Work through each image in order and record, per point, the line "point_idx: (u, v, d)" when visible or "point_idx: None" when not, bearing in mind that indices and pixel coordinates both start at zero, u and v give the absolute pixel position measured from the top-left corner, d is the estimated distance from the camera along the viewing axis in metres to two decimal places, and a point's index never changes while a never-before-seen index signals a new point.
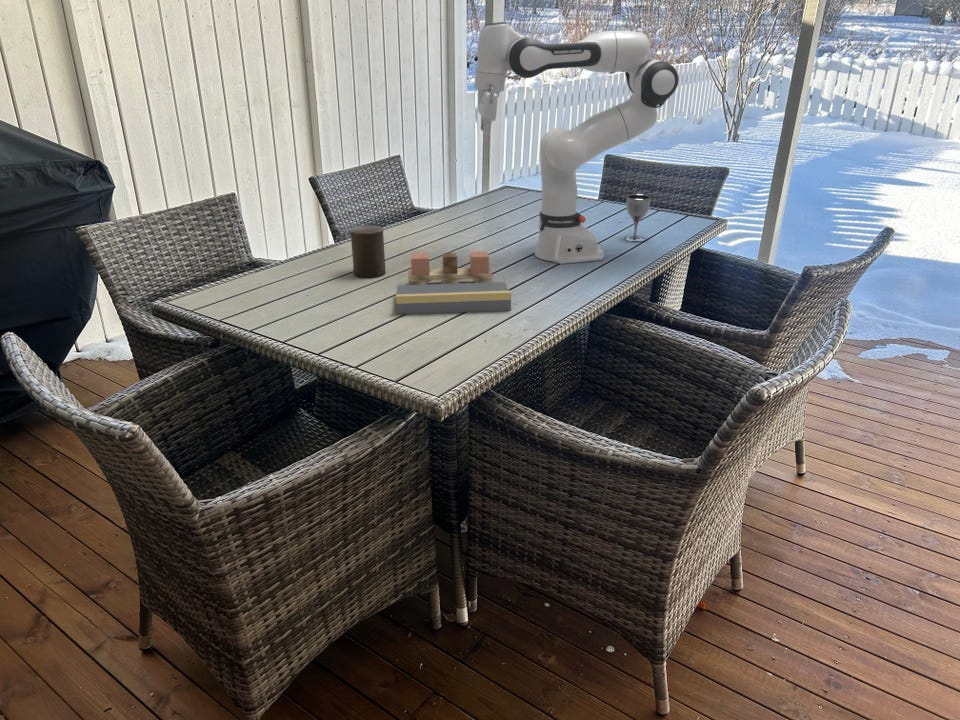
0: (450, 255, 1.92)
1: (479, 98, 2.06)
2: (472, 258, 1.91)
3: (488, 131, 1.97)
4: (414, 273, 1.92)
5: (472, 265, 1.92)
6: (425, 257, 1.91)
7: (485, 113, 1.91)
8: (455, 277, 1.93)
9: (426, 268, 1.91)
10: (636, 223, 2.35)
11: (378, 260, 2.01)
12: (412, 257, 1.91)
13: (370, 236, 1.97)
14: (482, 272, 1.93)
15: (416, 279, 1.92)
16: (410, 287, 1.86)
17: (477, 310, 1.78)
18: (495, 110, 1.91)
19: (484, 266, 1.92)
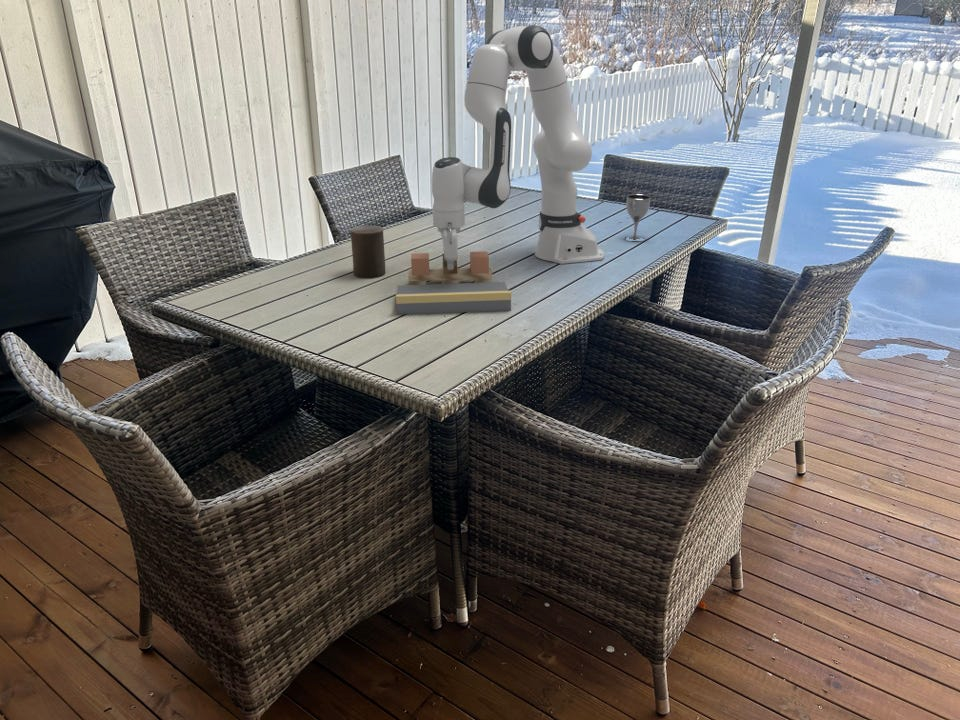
0: None
1: None
2: (472, 258, 1.91)
3: (451, 265, 1.91)
4: (414, 273, 1.92)
5: (472, 265, 1.92)
6: (425, 257, 1.91)
7: (446, 254, 1.82)
8: (455, 277, 1.93)
9: (426, 268, 1.91)
10: (636, 223, 2.35)
11: (378, 260, 2.01)
12: (412, 257, 1.91)
13: (370, 236, 1.97)
14: (482, 272, 1.93)
15: (416, 279, 1.92)
16: (410, 287, 1.86)
17: (477, 310, 1.78)
18: (456, 250, 1.82)
19: (484, 266, 1.92)
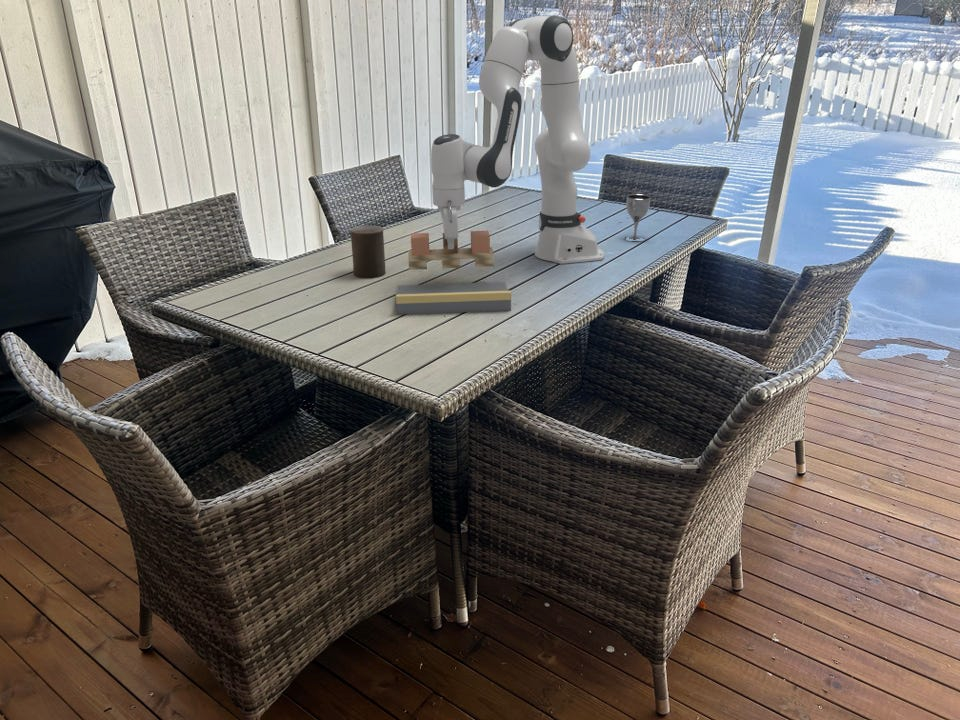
0: None
1: None
2: (473, 237, 1.89)
3: (452, 244, 1.88)
4: (414, 253, 1.89)
5: (473, 244, 1.89)
6: (425, 237, 1.88)
7: (446, 233, 1.80)
8: (456, 257, 1.90)
9: (426, 247, 1.89)
10: (636, 223, 2.35)
11: (378, 260, 2.01)
12: (412, 237, 1.88)
13: (370, 236, 1.97)
14: (483, 251, 1.91)
15: (416, 259, 1.90)
16: (410, 287, 1.86)
17: (477, 310, 1.78)
18: (456, 228, 1.80)
19: (485, 245, 1.90)
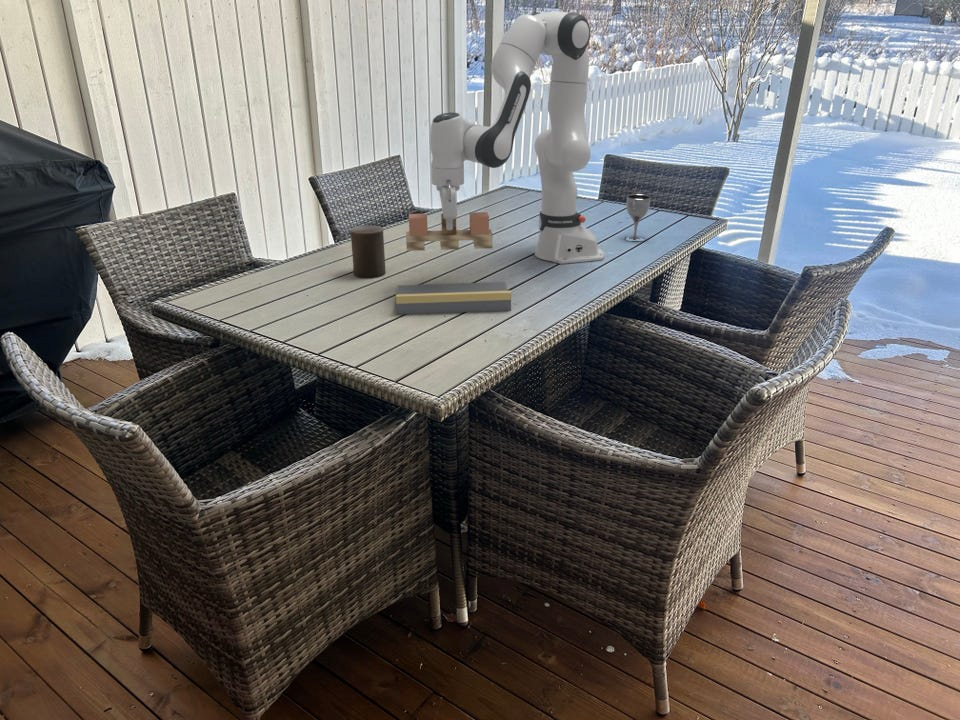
0: None
1: None
2: (472, 218, 1.86)
3: (450, 225, 1.85)
4: (412, 233, 1.86)
5: (472, 225, 1.87)
6: (423, 217, 1.85)
7: (444, 212, 1.77)
8: (454, 238, 1.88)
9: (424, 228, 1.86)
10: (636, 223, 2.35)
11: (378, 260, 2.01)
12: (410, 217, 1.85)
13: (370, 236, 1.97)
14: (482, 233, 1.88)
15: (414, 240, 1.87)
16: (410, 287, 1.86)
17: (477, 310, 1.78)
18: (455, 208, 1.77)
19: (484, 226, 1.87)
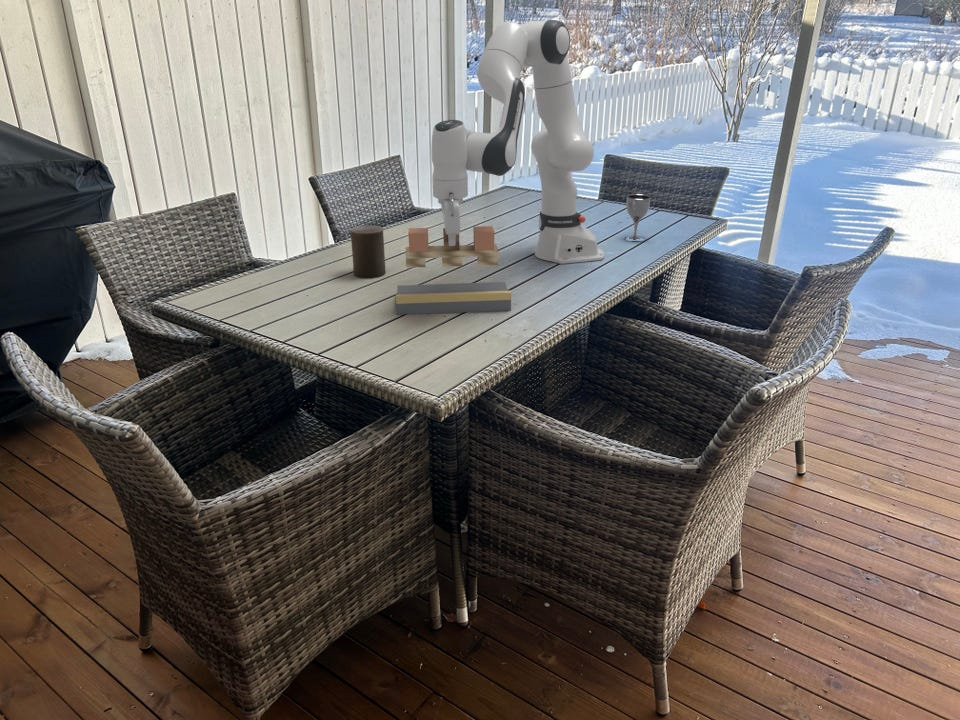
0: None
1: None
2: (476, 233, 1.73)
3: (453, 241, 1.73)
4: (412, 249, 1.74)
5: (476, 241, 1.74)
6: (424, 232, 1.73)
7: (447, 228, 1.64)
8: (457, 254, 1.75)
9: (425, 244, 1.73)
10: (636, 223, 2.35)
11: (378, 260, 2.01)
12: (410, 232, 1.73)
13: (370, 236, 1.97)
14: (487, 249, 1.75)
15: (414, 256, 1.74)
16: (410, 287, 1.86)
17: (477, 310, 1.78)
18: (458, 223, 1.64)
19: (489, 242, 1.75)
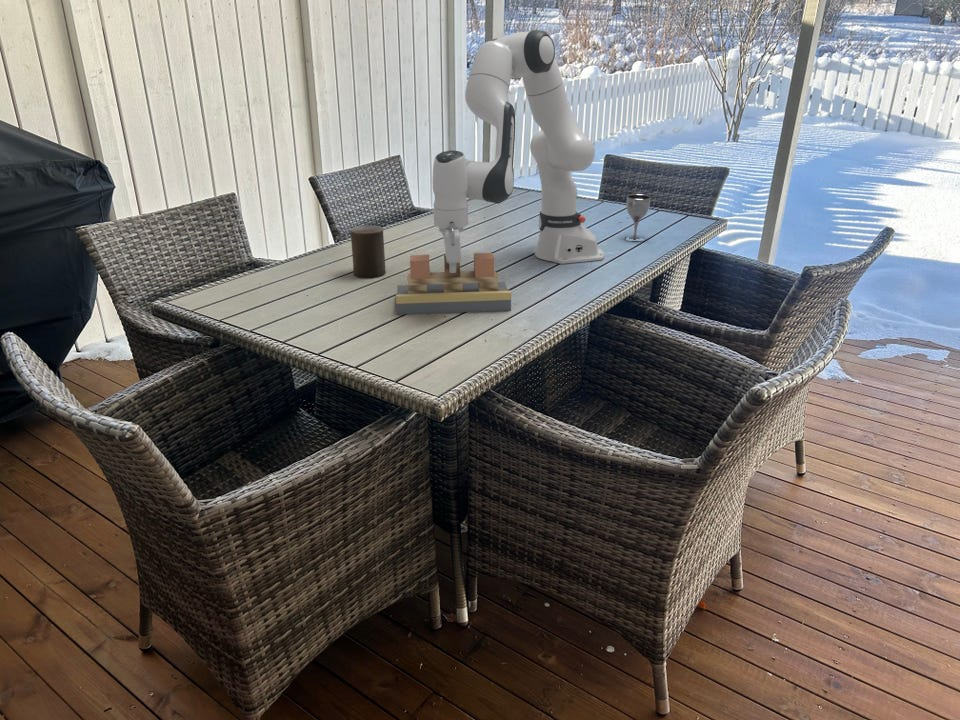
0: None
1: None
2: (476, 260, 1.76)
3: (454, 268, 1.76)
4: (413, 276, 1.77)
5: (476, 268, 1.77)
6: (425, 259, 1.76)
7: (448, 256, 1.68)
8: (458, 281, 1.78)
9: (426, 271, 1.77)
10: (636, 223, 2.35)
11: (378, 260, 2.01)
12: (411, 259, 1.76)
13: (370, 236, 1.97)
14: (487, 275, 1.79)
15: (415, 283, 1.77)
16: None
17: (477, 310, 1.78)
18: (459, 252, 1.67)
19: (489, 269, 1.78)
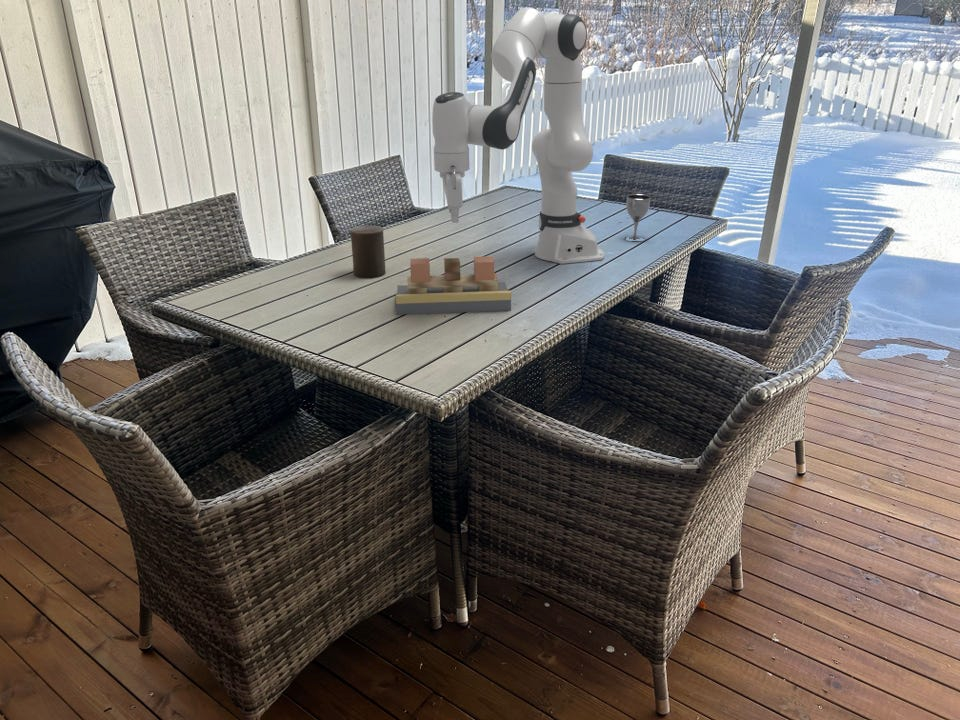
0: (452, 260, 1.78)
1: None
2: (476, 264, 1.77)
3: (456, 217, 1.70)
4: (413, 280, 1.77)
5: (476, 271, 1.78)
6: (425, 263, 1.76)
7: (449, 201, 1.63)
8: (458, 284, 1.79)
9: (427, 274, 1.77)
10: (636, 223, 2.35)
11: (378, 260, 2.01)
12: (411, 263, 1.76)
13: (370, 236, 1.97)
14: (487, 279, 1.79)
15: (416, 286, 1.78)
16: None
17: (477, 310, 1.78)
18: (460, 196, 1.63)
19: (489, 272, 1.78)
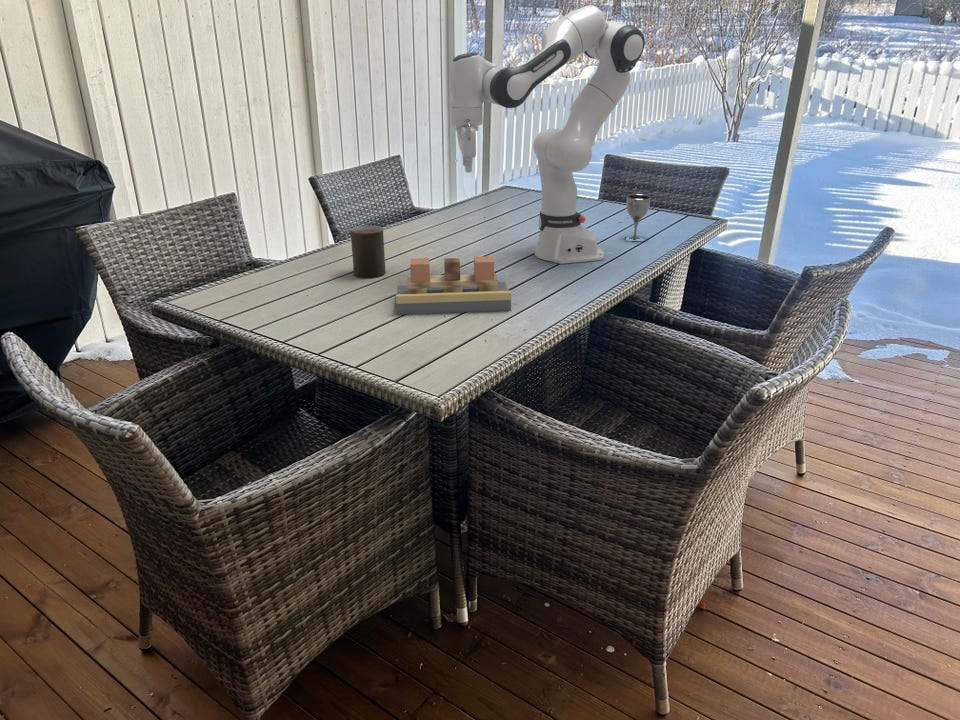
0: (452, 260, 1.78)
1: (458, 132, 1.95)
2: (476, 264, 1.77)
3: (470, 167, 1.87)
4: (413, 280, 1.77)
5: (476, 271, 1.78)
6: (425, 263, 1.76)
7: (464, 150, 1.80)
8: (458, 284, 1.79)
9: (427, 274, 1.77)
10: (636, 223, 2.35)
11: (378, 260, 2.01)
12: (411, 263, 1.76)
13: (370, 236, 1.97)
14: (487, 279, 1.79)
15: (416, 286, 1.78)
16: None
17: (477, 310, 1.78)
18: (474, 146, 1.80)
19: (489, 272, 1.78)
